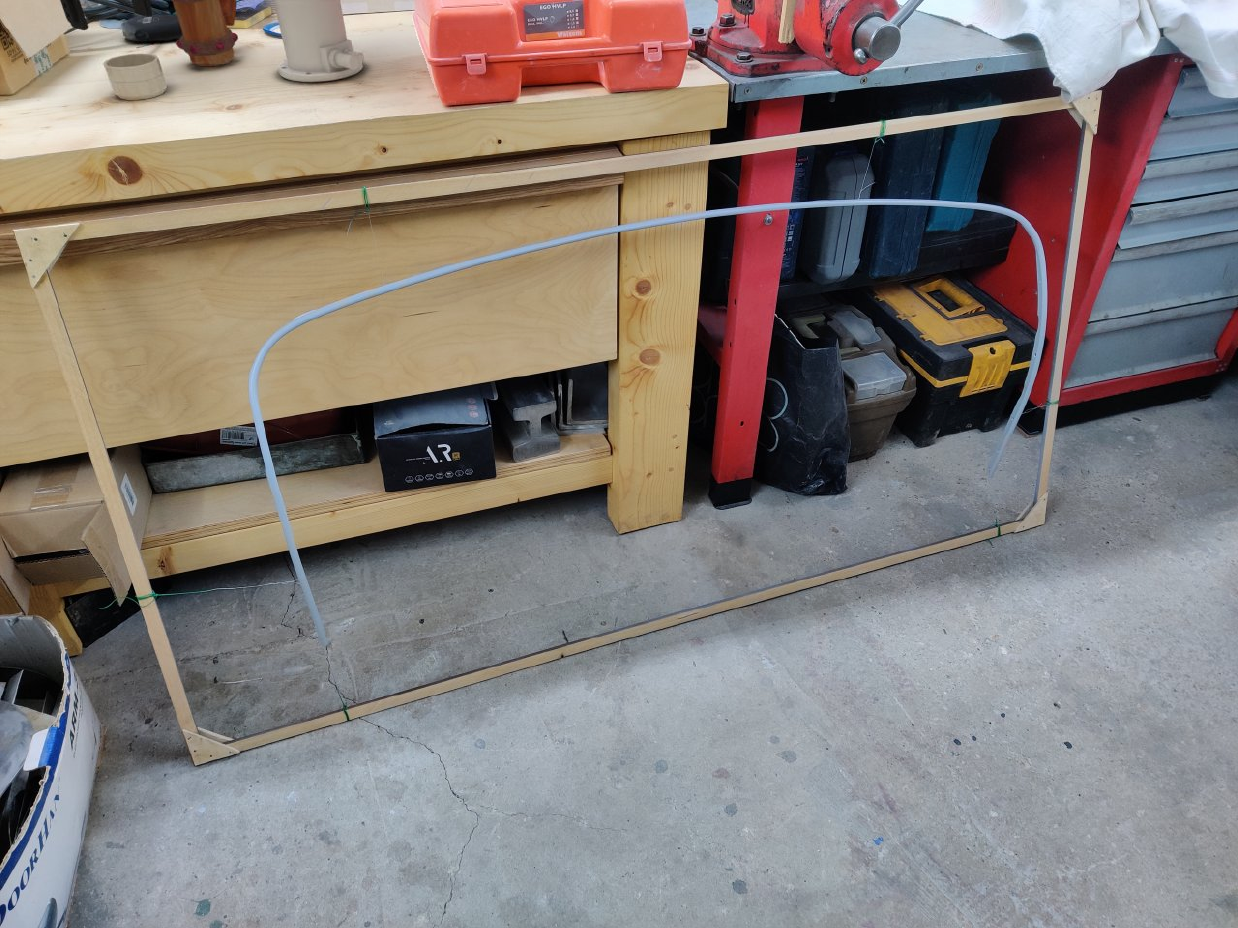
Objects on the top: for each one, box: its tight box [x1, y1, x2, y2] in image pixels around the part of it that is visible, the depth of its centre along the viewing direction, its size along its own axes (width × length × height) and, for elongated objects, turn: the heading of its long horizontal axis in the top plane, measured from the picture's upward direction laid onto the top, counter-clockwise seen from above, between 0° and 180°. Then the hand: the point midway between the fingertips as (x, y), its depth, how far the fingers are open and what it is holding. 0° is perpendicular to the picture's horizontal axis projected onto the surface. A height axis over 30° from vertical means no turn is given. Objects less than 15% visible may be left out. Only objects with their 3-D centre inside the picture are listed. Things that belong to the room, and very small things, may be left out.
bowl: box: [103, 53, 168, 101], centre depth 128 cm, size 7×7×4 cm
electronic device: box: [120, 14, 183, 42], centre depth 152 cm, size 9×6×15 cm
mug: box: [170, 0, 239, 67], centre depth 138 cm, size 15×8×15 cm, turn 168°
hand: (113, 21), depth 123 cm, fingers open, 9 cm apart
